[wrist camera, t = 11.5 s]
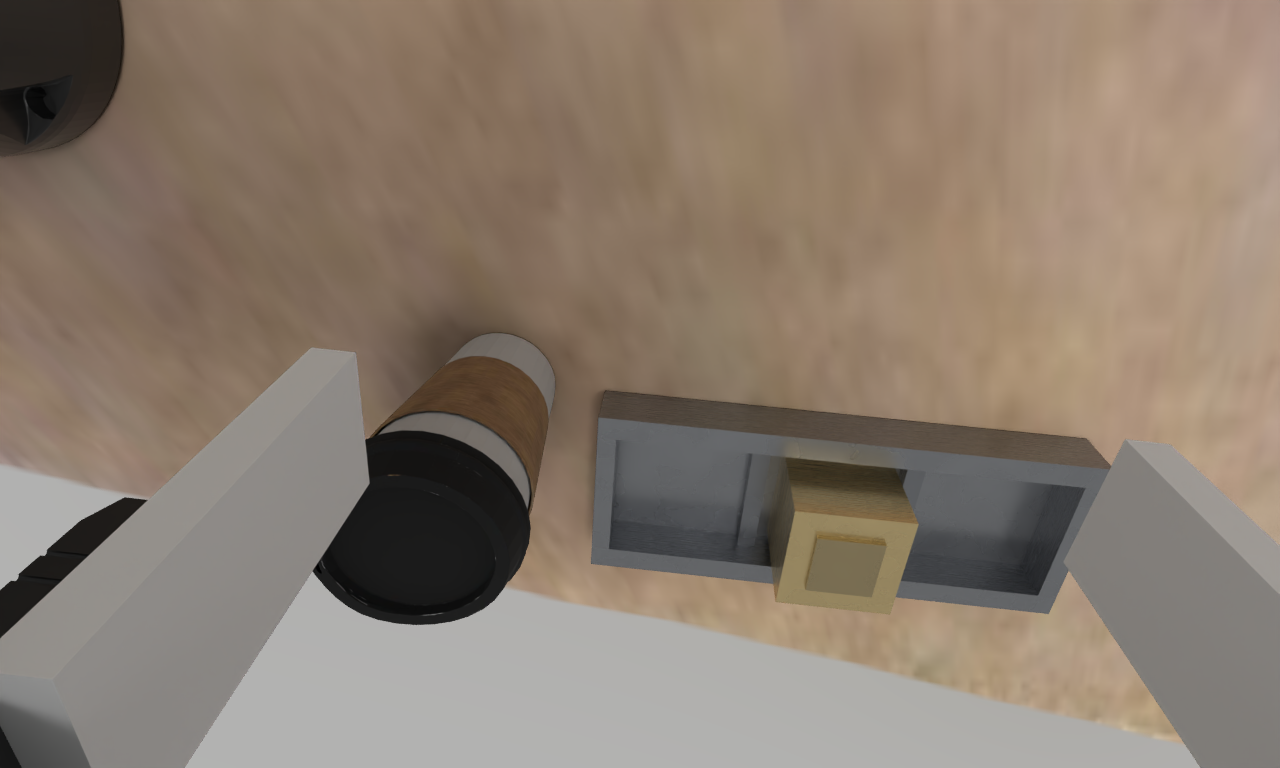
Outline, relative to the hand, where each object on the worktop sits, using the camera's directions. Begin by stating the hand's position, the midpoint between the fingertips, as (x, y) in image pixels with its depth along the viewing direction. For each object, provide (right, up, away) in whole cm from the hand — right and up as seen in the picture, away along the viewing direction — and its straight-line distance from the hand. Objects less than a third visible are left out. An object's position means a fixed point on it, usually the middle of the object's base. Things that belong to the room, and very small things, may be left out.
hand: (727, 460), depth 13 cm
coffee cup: (-9, +2, +28) cm, 29 cm away
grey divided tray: (+9, -5, +29) cm, 31 cm away
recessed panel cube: (+9, -5, +29) cm, 31 cm away
